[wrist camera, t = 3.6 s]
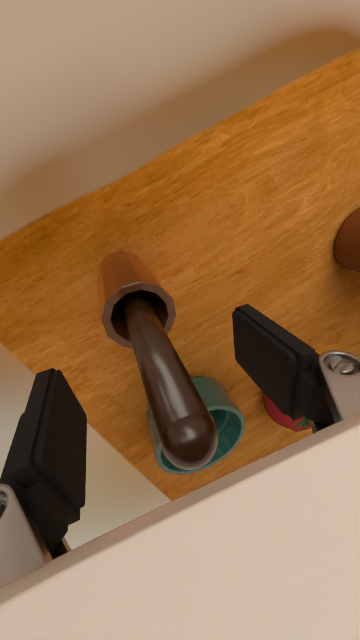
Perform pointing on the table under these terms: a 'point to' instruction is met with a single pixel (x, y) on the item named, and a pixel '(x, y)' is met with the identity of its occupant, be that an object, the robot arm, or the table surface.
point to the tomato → (285, 417)
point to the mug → (349, 242)
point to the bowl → (224, 417)
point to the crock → (125, 277)
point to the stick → (169, 389)
